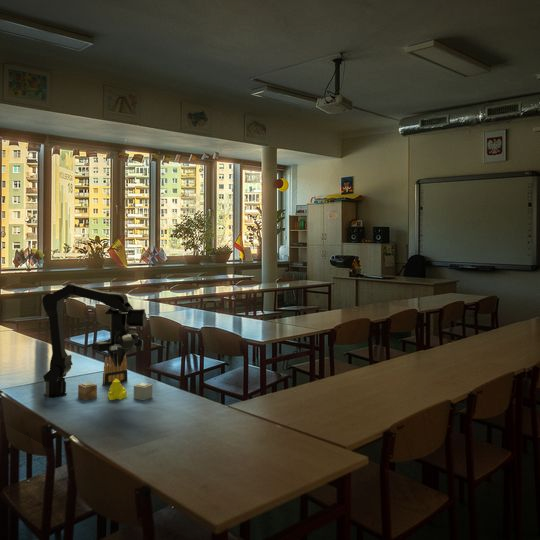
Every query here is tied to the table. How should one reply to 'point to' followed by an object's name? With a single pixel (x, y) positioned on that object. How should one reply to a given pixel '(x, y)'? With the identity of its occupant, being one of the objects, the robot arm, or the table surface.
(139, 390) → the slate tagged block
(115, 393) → the crumpled paper
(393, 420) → the table surface
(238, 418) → the table surface
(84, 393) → the walnut tagged block
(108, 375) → the ammunition clip
